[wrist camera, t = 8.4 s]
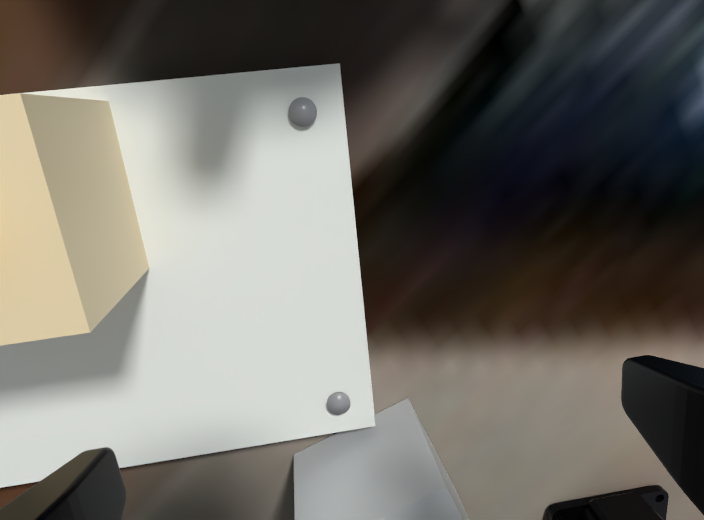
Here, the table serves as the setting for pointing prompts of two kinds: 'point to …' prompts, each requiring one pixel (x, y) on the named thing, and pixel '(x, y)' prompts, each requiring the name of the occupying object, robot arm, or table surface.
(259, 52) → the table surface
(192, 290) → the junction plate
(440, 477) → the grey block
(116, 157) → the beige block
